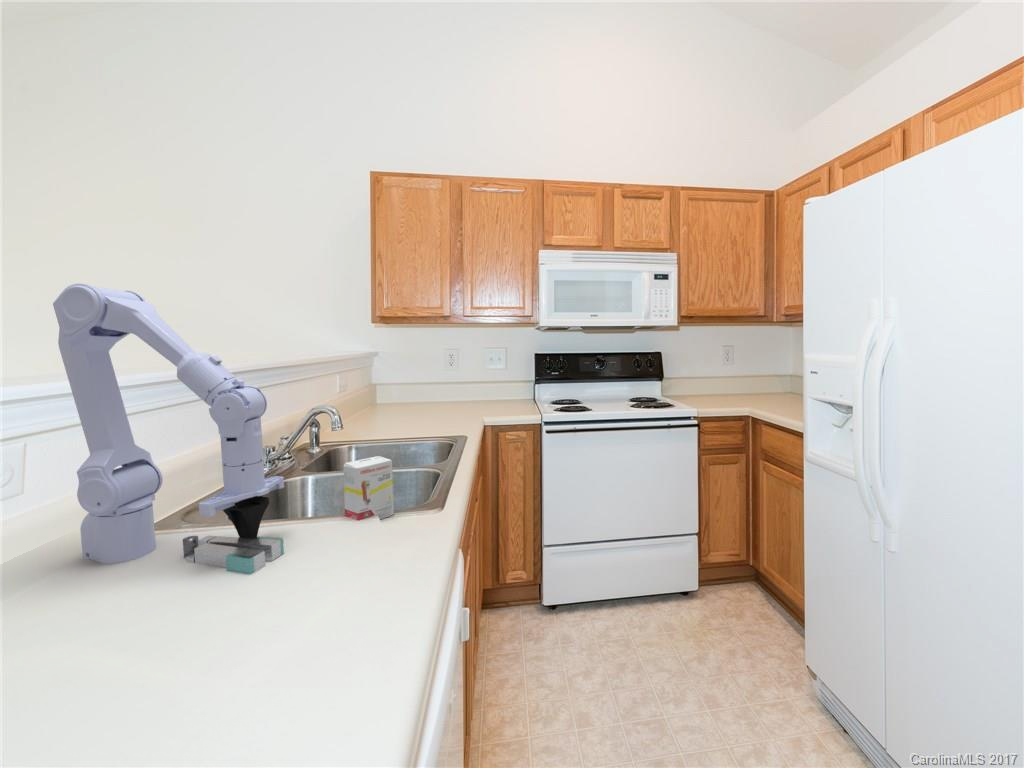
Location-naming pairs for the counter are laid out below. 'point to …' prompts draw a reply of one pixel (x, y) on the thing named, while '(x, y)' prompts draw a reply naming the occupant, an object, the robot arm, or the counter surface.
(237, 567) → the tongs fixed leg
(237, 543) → the bar
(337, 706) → the counter surface
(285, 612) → the counter surface
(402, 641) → the counter surface
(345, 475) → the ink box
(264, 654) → the counter surface
